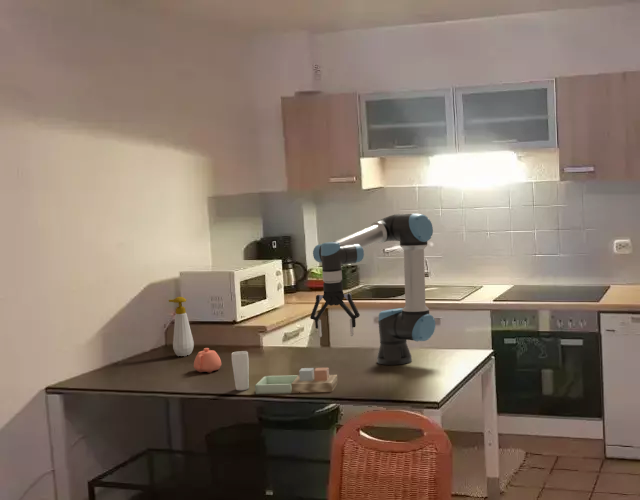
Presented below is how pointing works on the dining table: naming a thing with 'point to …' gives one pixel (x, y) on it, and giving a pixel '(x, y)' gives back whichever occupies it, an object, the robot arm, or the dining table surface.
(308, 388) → the board
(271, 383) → the tray
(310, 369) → the tile grey
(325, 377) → the salmon pink block
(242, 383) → the drinking glass
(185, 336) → the soap bottle
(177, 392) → the dining table surface
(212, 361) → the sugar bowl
